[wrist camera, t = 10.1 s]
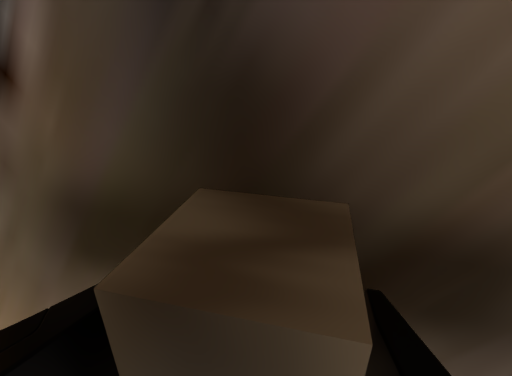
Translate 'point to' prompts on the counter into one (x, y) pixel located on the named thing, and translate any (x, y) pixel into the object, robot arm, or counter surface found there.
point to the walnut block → (241, 292)
